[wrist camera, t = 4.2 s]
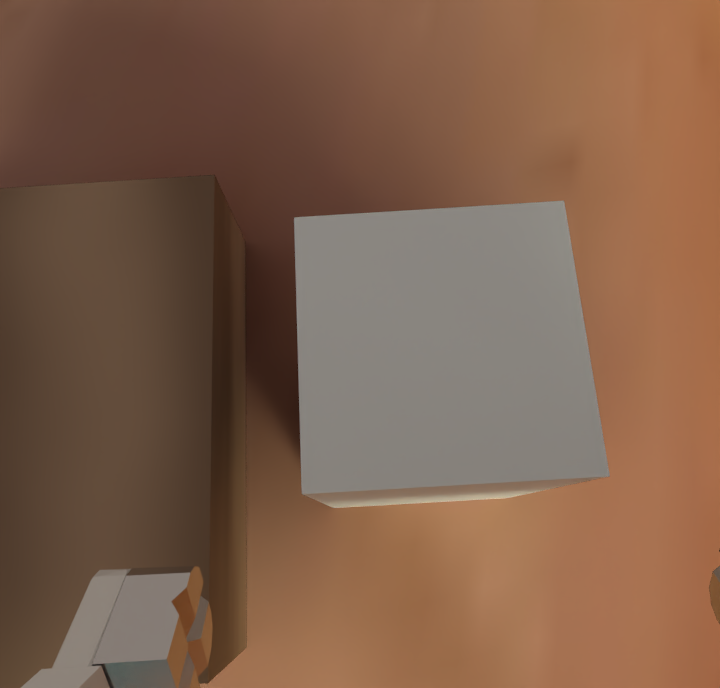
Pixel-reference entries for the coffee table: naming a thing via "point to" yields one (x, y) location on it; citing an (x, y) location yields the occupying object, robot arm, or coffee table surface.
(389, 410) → the light grey block
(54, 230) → the walnut plinth
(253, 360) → the coffee table surface
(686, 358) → the coffee table surface
